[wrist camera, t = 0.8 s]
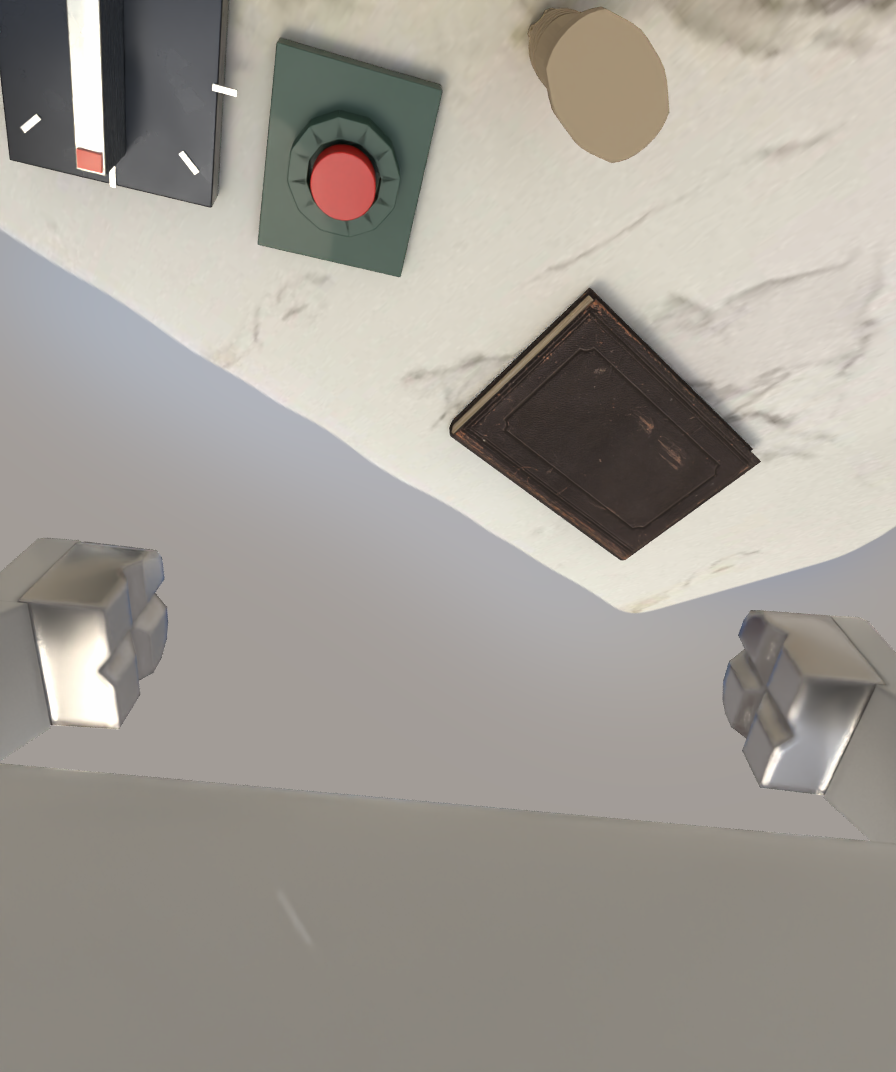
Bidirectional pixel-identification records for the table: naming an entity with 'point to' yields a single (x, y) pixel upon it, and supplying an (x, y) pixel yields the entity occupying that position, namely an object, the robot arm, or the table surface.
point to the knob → (97, 83)
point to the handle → (600, 80)
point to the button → (343, 182)
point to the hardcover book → (603, 431)
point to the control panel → (150, 93)
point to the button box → (353, 119)
